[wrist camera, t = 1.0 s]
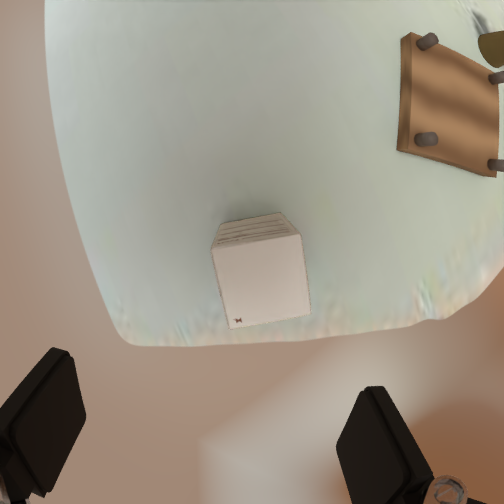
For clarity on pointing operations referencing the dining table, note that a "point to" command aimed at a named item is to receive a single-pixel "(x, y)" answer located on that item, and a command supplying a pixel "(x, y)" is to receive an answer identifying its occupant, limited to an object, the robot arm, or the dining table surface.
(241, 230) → the supplement box
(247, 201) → the dining table surface
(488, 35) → the brown rounded piece
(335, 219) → the dining table surface
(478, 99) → the shelf board
